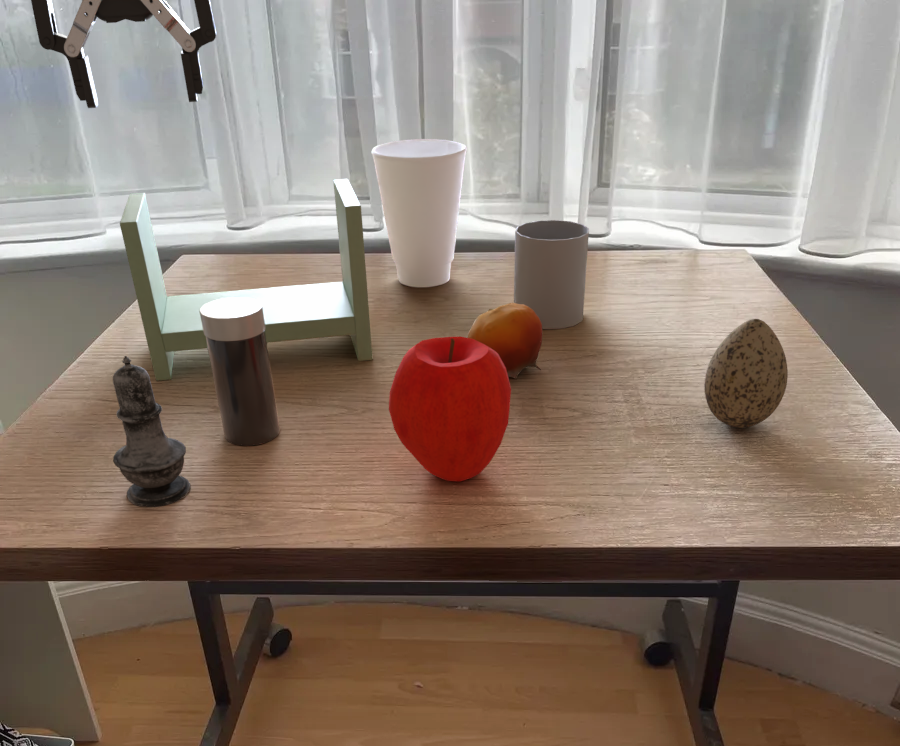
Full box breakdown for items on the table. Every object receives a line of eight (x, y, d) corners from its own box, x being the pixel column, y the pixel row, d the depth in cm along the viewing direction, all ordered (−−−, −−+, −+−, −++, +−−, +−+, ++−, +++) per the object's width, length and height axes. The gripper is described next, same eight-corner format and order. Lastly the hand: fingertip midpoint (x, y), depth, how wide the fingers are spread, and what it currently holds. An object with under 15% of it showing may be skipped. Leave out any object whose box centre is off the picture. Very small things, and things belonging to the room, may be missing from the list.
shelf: (156, 381, 95) (119, 222, 86) (161, 340, 105) (129, 193, 95) (372, 359, 99) (361, 205, 89) (359, 322, 108) (347, 178, 98)
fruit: (530, 381, 90) (497, 305, 88) (475, 402, 95) (443, 332, 93) (572, 355, 95) (541, 283, 93) (517, 377, 101) (488, 309, 98)
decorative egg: (697, 438, 82) (715, 331, 76) (698, 405, 88) (714, 303, 82) (779, 444, 81) (803, 337, 75) (774, 410, 87) (796, 308, 81)
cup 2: (503, 323, 107) (504, 236, 101) (526, 301, 113) (528, 217, 107) (572, 332, 104) (577, 243, 98) (591, 309, 110) (598, 223, 104)
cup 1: (361, 281, 120) (351, 150, 110) (420, 260, 127) (415, 135, 118) (428, 299, 114) (423, 162, 104) (486, 275, 121) (486, 145, 111)
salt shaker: (127, 514, 74) (88, 376, 66) (119, 482, 78) (83, 349, 71) (199, 499, 75) (169, 363, 68) (188, 468, 80) (159, 337, 73)
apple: (377, 492, 76) (365, 353, 68) (419, 440, 83) (413, 310, 76) (489, 511, 73) (490, 368, 66) (523, 456, 80) (527, 322, 73)
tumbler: (223, 449, 83) (198, 321, 75) (223, 424, 87) (199, 300, 80) (282, 442, 83) (263, 315, 76) (279, 417, 88) (261, 294, 80)
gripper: (191, -134, 73) (226, 93, 83) (7, -131, 71) (64, 102, 81) (189, -140, 67) (226, 106, 77) (-13, -136, 65) (52, 115, 75)
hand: (143, 103), depth 79 cm, fingers open, 8 cm apart
